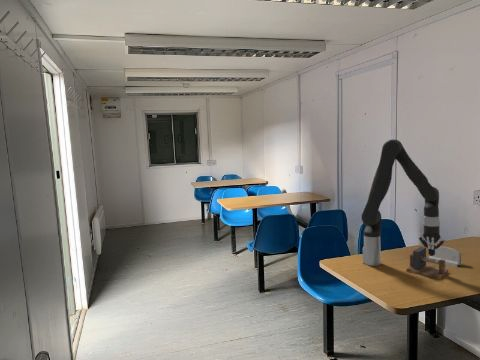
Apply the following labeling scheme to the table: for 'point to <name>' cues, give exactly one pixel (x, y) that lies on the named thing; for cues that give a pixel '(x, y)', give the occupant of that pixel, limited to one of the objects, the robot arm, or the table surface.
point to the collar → (419, 258)
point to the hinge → (448, 256)
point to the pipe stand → (429, 268)
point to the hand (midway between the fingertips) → (431, 255)
